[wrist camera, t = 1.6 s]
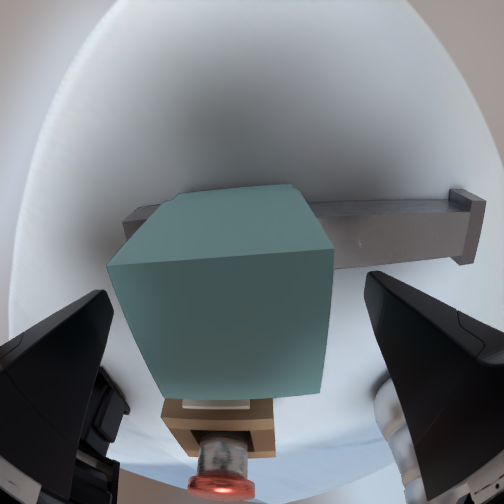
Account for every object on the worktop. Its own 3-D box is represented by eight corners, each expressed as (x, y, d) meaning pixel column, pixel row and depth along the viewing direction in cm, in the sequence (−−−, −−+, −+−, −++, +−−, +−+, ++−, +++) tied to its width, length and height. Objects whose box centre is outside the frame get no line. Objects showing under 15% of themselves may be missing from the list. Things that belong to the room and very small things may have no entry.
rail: (154, 272, 14) (142, 293, 13) (138, 207, 13) (122, 221, 11) (454, 247, 14) (473, 263, 12) (464, 189, 12) (486, 200, 10)
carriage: (195, 284, 14) (164, 397, 8) (177, 188, 12) (106, 265, 6) (293, 277, 14) (319, 393, 8) (290, 177, 12) (334, 248, 6)
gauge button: (204, 430, 16) (196, 499, 11) (191, 403, 15) (178, 485, 10) (256, 430, 16) (257, 501, 11) (251, 403, 15) (251, 489, 10)
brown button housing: (196, 402, 20) (188, 456, 15) (175, 350, 17) (158, 414, 12) (272, 401, 20) (275, 457, 15) (269, 347, 17) (273, 415, 12)
